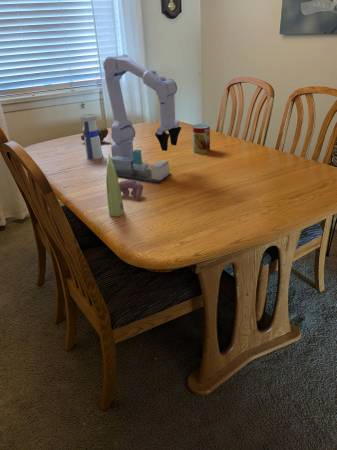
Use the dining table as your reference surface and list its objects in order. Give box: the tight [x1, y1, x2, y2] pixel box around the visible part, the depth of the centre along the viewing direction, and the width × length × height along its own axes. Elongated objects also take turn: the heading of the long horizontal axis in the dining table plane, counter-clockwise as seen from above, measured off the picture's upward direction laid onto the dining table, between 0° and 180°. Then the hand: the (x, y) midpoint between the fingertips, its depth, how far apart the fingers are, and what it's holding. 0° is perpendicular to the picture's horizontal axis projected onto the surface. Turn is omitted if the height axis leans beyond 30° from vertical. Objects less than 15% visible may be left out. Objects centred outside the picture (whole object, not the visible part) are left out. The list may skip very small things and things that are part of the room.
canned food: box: [192, 123, 211, 155], centre depth 175 cm, size 8×8×12 cm
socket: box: [150, 160, 170, 180], centre depth 148 cm, size 4×7×5 cm, turn 150°
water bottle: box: [79, 101, 104, 160], centre depth 173 cm, size 8×9×25 cm
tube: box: [105, 154, 125, 217], centre depth 120 cm, size 6×5×20 cm
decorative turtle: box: [80, 127, 109, 144], centre depth 199 cm, size 10×15×8 cm, turn 89°
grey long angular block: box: [111, 156, 172, 185], centre depth 153 cm, size 25×10×6 cm, turn 60°
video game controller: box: [119, 179, 144, 201], centre depth 135 cm, size 10×5×7 cm, turn 71°
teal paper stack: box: [131, 149, 149, 171], centre depth 153 cm, size 16×3×8 cm, turn 60°
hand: (169, 147), depth 152 cm, fingers open, 7 cm apart
